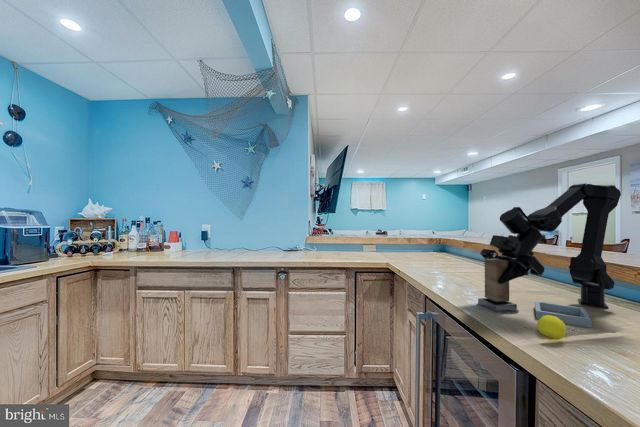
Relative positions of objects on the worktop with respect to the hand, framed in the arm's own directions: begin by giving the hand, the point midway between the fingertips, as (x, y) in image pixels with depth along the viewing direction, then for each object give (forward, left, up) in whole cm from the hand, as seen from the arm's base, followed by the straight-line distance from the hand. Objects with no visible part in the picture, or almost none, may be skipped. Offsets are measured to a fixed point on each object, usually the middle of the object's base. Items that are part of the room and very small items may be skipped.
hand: (492, 280), depth 85 cm
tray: (-3, +16, -9) cm, 19 cm away
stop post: (-1, +1, -6) cm, 6 cm away
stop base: (-1, +1, -9) cm, 9 cm away
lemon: (+13, +13, -10) cm, 21 cm away
